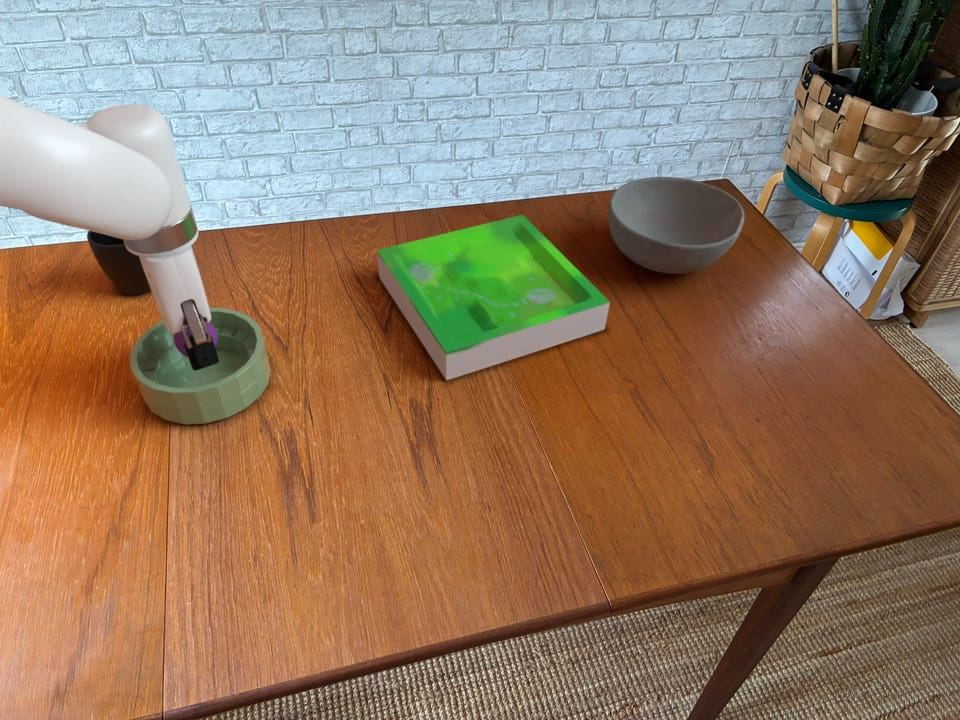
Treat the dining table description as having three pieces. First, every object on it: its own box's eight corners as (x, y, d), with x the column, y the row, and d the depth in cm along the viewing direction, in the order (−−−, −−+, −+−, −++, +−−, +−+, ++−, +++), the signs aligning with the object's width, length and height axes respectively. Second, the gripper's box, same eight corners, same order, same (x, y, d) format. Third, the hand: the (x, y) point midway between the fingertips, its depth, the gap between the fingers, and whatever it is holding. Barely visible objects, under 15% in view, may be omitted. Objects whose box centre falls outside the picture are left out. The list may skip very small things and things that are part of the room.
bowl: (609, 217, 124) (619, 165, 117) (728, 237, 120) (745, 185, 113) (591, 282, 109) (601, 227, 102) (726, 308, 106) (745, 252, 99)
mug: (199, 284, 106) (182, 230, 99) (114, 308, 101) (91, 252, 95) (186, 256, 111) (169, 203, 104) (104, 277, 106) (82, 223, 100)
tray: (520, 240, 117) (522, 214, 114) (604, 329, 101) (610, 302, 98) (379, 277, 109) (376, 250, 105) (446, 380, 92) (446, 352, 89)
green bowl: (235, 438, 84) (224, 403, 80) (118, 412, 87) (102, 377, 82) (290, 353, 95) (283, 319, 91) (186, 333, 98) (175, 298, 94)
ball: (208, 370, 86) (198, 339, 82) (171, 362, 86) (160, 331, 83) (229, 343, 89) (220, 313, 86) (193, 336, 90) (183, 306, 86)
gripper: (105, 198, 79) (152, 323, 91) (139, 278, 68) (187, 406, 81) (174, 182, 82) (210, 305, 94) (217, 257, 71) (251, 383, 84)
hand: (199, 350), depth 87 cm, fingers closed on ball, 4 cm apart
